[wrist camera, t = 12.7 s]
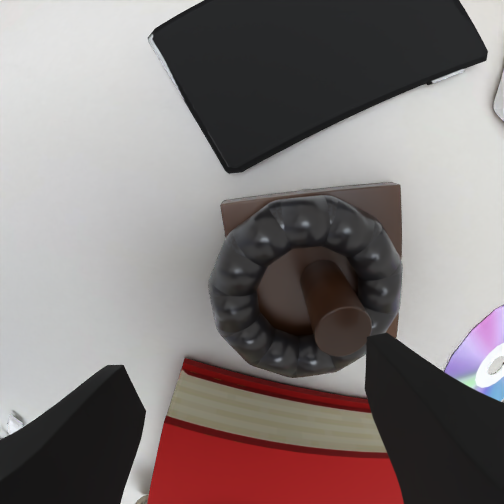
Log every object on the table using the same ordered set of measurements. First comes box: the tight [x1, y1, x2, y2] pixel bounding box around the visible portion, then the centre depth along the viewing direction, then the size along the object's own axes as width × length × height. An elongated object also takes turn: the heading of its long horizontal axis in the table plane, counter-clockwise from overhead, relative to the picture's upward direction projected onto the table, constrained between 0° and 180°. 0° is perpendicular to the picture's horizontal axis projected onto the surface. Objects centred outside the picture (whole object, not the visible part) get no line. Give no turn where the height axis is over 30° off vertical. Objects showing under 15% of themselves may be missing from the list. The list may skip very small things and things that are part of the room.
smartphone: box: [148, 0, 488, 173], centre depth 11 cm, size 8×1×15 cm
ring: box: [208, 195, 403, 378], centre depth 14 cm, size 8×8×2 cm
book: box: [147, 358, 404, 504], centre depth 17 cm, size 18×13×5 cm
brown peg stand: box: [220, 182, 402, 356], centre depth 13 cm, size 8×8×6 cm
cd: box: [444, 305, 504, 401], centre depth 17 cm, size 11×11×1 cm
